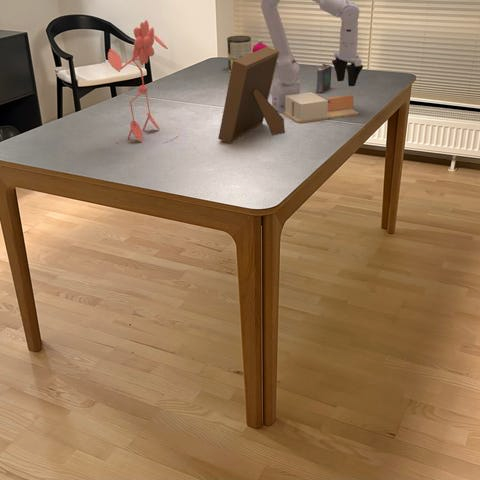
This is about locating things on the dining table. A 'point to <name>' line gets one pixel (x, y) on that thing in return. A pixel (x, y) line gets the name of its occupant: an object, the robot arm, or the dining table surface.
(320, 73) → the flask
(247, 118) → the photo frame
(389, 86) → the dining table surface
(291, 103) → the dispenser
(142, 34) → the pink stick figure
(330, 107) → the long copper stick
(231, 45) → the coffee can
